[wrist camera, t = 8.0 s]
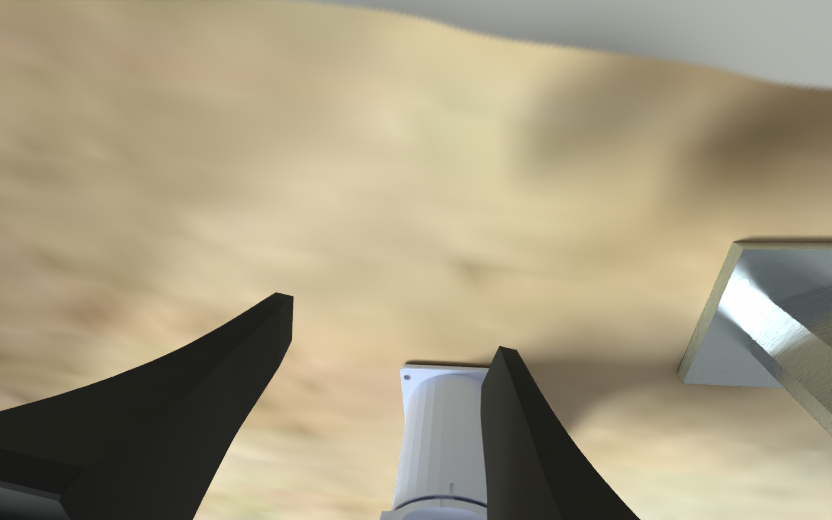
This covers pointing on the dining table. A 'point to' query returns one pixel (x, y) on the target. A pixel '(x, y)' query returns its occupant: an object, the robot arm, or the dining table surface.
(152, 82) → the dining table surface
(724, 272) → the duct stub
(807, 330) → the collar
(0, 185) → the dining table surface
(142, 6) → the dining table surface
